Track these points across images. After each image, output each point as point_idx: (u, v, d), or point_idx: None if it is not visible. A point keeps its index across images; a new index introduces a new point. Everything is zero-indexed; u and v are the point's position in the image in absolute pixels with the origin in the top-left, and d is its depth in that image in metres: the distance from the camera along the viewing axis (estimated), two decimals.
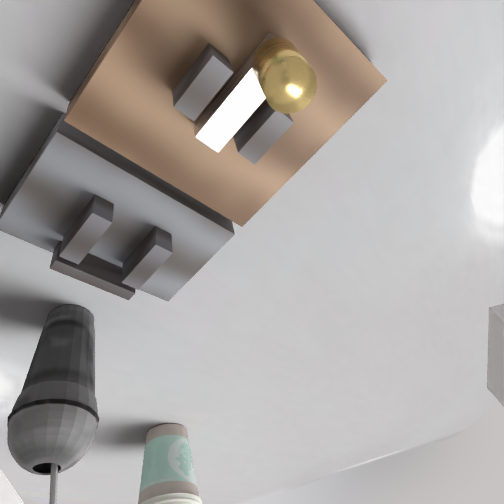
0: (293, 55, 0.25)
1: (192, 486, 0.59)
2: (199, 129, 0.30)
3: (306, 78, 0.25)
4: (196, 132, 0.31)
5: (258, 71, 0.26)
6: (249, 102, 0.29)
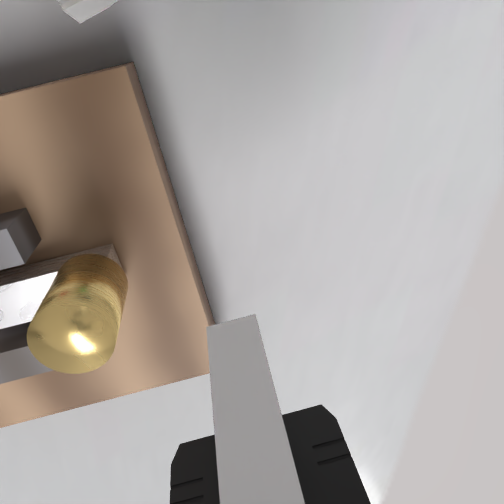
0: (102, 300, 0.16)
1: None
2: None
3: (100, 340, 0.16)
4: None
5: (51, 287, 0.17)
6: (30, 307, 0.20)
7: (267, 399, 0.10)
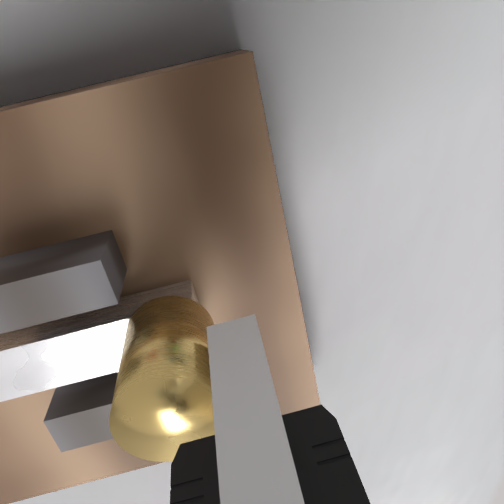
0: (205, 366, 0.12)
1: None
2: None
3: (204, 420, 0.12)
4: None
5: (131, 344, 0.13)
6: (92, 362, 0.16)
7: (267, 399, 0.10)
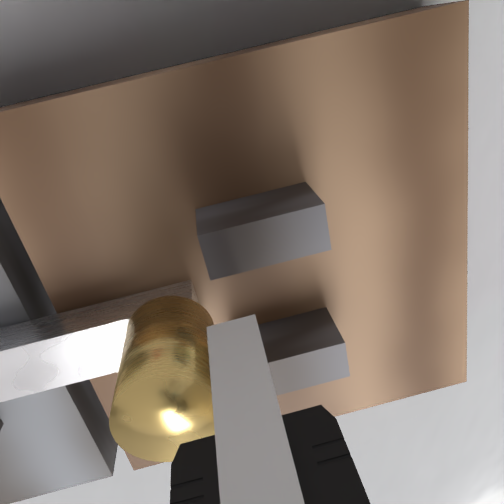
0: (205, 366, 0.12)
1: None
2: None
3: (204, 420, 0.12)
4: None
5: (131, 344, 0.13)
6: (92, 362, 0.16)
7: (267, 399, 0.10)
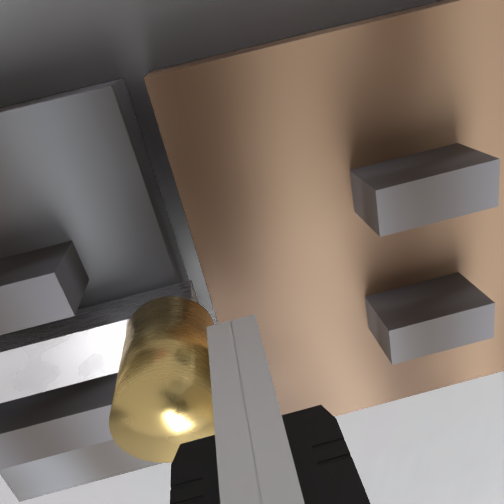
0: (205, 366, 0.12)
1: None
2: None
3: (204, 421, 0.12)
4: None
5: (131, 345, 0.13)
6: (92, 363, 0.16)
7: (267, 399, 0.10)
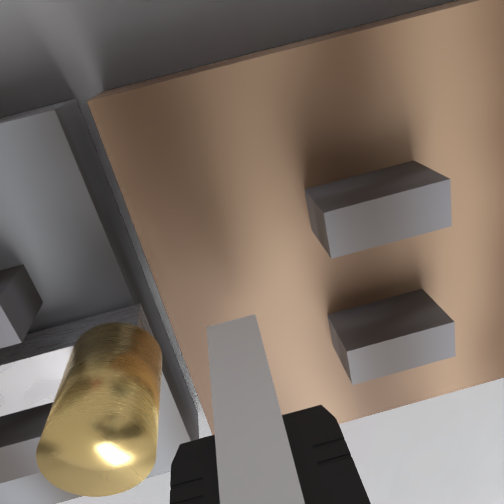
0: (137, 398, 0.12)
1: None
2: None
3: (136, 455, 0.12)
4: None
5: (66, 375, 0.13)
6: (38, 390, 0.15)
7: (267, 399, 0.10)
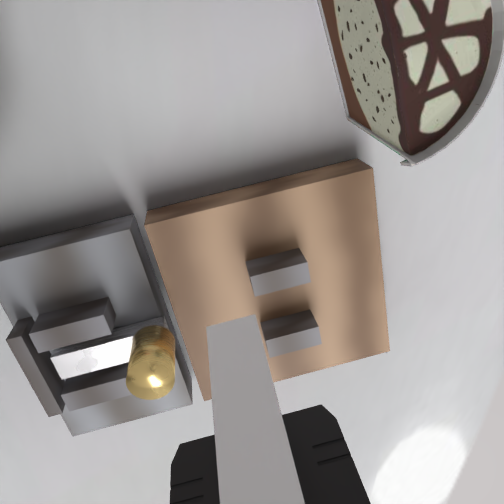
0: (167, 357, 0.29)
1: None
2: (58, 353, 0.31)
3: (166, 381, 0.28)
4: (54, 354, 0.31)
5: (134, 348, 0.29)
6: (114, 357, 0.32)
7: (267, 399, 0.10)
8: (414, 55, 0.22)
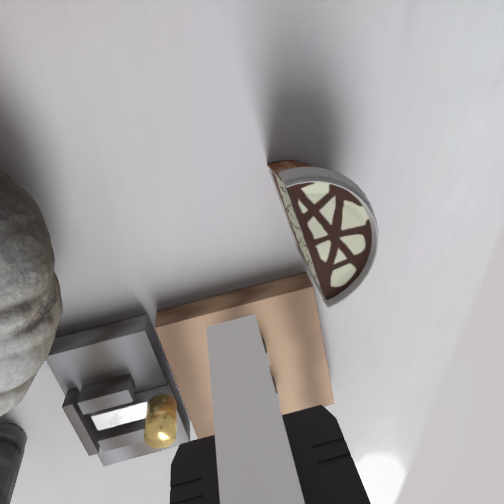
0: (171, 420, 0.42)
1: None
2: (96, 413, 0.45)
3: (170, 436, 0.42)
4: (93, 413, 0.45)
5: (149, 413, 0.43)
6: (135, 415, 0.46)
7: (267, 399, 0.10)
8: (322, 247, 0.35)
